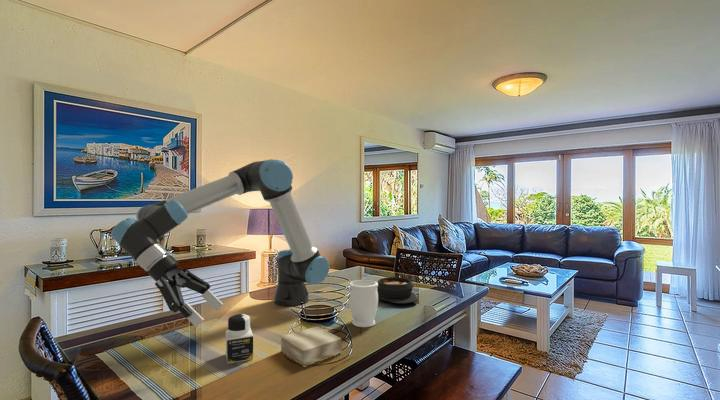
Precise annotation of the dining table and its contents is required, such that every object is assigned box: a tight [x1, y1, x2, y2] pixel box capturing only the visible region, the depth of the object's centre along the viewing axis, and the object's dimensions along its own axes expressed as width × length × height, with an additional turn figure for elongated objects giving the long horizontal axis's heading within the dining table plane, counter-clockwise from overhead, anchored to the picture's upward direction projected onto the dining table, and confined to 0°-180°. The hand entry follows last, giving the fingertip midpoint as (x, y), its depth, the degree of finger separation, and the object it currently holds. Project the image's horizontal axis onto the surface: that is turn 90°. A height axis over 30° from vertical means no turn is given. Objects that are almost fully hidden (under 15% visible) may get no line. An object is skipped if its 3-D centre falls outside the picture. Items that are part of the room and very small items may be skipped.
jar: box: [349, 279, 379, 328], centre depth 131 cm, size 11×10×15 cm
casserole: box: [377, 276, 418, 305], centre depth 161 cm, size 25×19×8 cm
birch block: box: [280, 325, 343, 366], centre depth 107 cm, size 13×13×5 cm
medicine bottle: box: [225, 313, 254, 365], centre depth 105 cm, size 7×7×12 cm
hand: (210, 315), depth 104 cm, fingers open, 13 cm apart
